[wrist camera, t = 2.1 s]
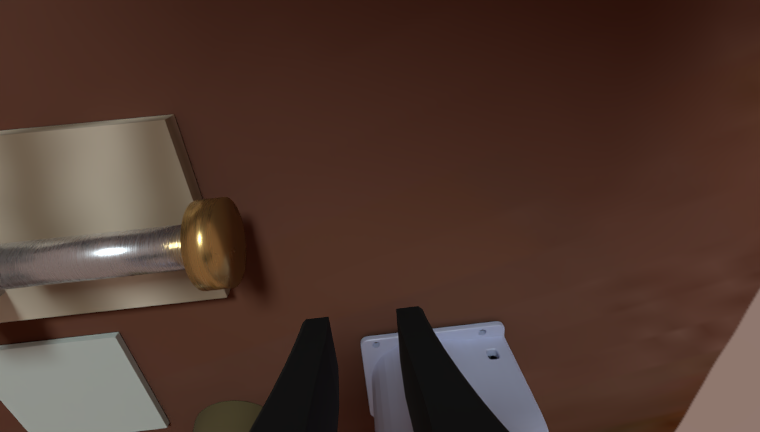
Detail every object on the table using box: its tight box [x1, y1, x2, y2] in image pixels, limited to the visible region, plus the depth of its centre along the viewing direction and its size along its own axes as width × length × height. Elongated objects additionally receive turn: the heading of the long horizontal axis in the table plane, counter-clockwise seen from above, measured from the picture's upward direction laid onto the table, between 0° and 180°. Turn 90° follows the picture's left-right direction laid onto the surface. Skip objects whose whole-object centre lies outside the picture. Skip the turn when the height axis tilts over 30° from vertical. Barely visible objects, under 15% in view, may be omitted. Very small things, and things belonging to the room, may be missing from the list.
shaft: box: [0, 197, 246, 291], centre depth 16 cm, size 11×4×4 cm, turn 94°
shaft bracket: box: [0, 115, 231, 323], centre depth 17 cm, size 14×10×6 cm
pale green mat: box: [0, 332, 169, 432], centre depth 25 cm, size 9×9×1 cm
